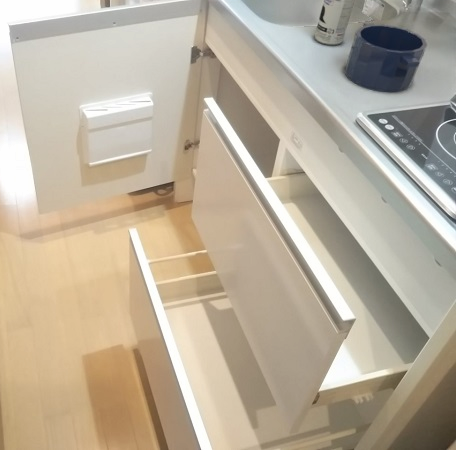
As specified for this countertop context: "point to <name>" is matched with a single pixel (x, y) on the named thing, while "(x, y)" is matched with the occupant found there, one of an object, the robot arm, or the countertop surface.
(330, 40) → the spray can
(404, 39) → the pot
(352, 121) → the countertop surface
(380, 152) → the countertop surface
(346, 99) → the countertop surface
